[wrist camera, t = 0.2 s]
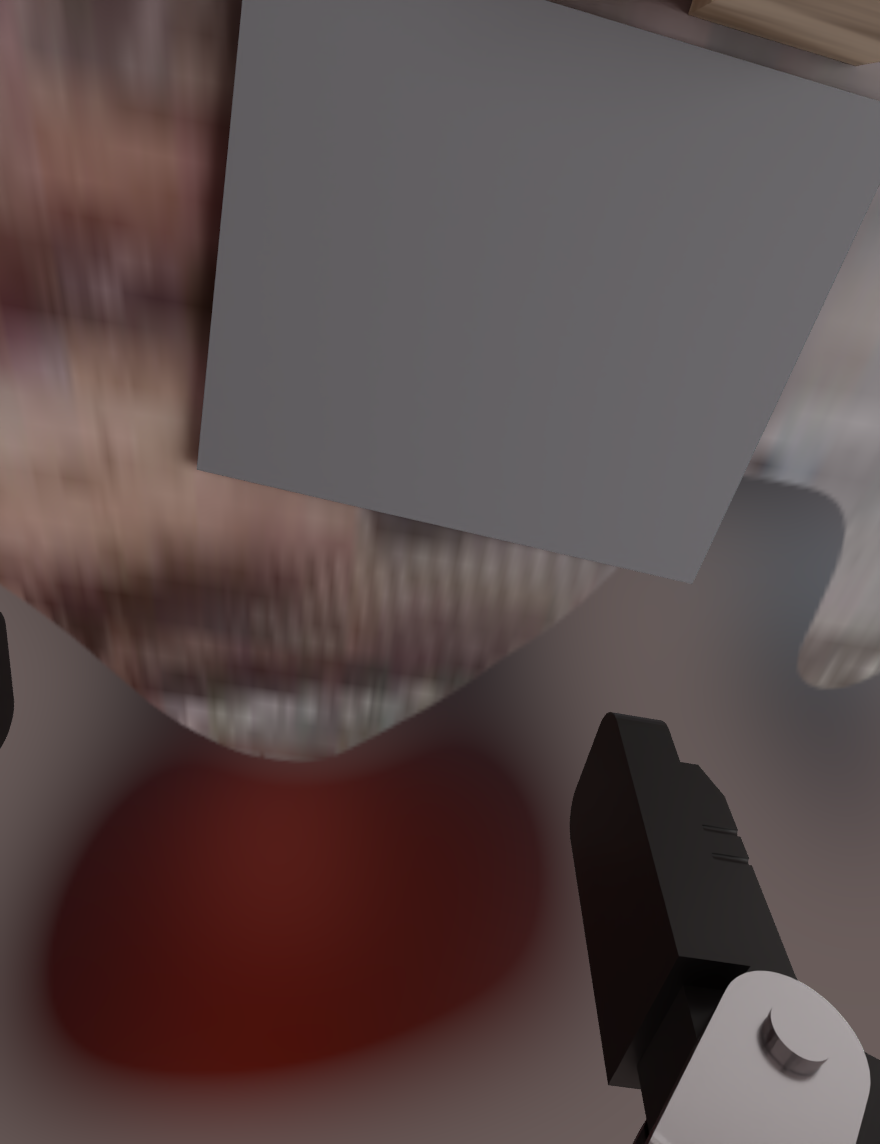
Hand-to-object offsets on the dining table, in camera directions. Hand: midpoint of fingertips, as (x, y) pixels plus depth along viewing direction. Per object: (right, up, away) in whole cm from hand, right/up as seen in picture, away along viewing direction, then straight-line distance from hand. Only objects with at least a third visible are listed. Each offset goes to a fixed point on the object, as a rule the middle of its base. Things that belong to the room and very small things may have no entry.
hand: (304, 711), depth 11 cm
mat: (+5, +14, +25) cm, 29 cm away
